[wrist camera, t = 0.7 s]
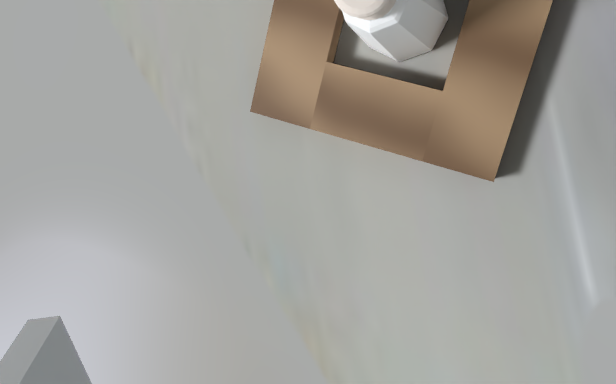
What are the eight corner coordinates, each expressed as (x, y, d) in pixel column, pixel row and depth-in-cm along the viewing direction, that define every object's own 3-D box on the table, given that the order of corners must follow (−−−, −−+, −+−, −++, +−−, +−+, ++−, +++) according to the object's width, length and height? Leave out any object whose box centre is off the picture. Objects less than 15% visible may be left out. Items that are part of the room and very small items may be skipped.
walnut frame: (314, -142, 36) (306, -151, 34) (585, -101, 31) (589, -111, 30) (259, 111, 39) (250, 111, 38) (494, 178, 35) (493, 181, 34)
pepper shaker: (410, -49, 35) (367, -112, 24) (468, 19, 34) (450, -16, 24) (343, 15, 37) (278, -18, 26) (397, 80, 36) (353, 72, 26)
